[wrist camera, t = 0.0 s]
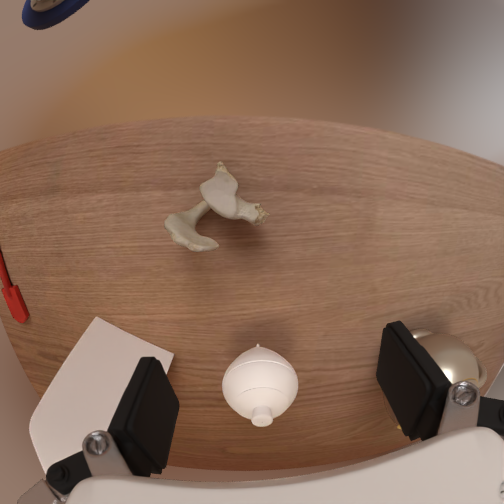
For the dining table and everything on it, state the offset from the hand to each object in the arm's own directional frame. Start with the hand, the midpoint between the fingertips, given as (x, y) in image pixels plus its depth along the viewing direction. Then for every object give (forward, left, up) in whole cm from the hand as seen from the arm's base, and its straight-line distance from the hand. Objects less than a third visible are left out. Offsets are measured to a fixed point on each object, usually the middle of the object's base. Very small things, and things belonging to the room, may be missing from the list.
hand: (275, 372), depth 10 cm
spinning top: (+13, -2, -19) cm, 23 cm away
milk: (+15, -21, -19) cm, 32 cm away
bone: (-5, -3, -19) cm, 20 cm away
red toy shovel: (-3, -39, -19) cm, 43 cm away
